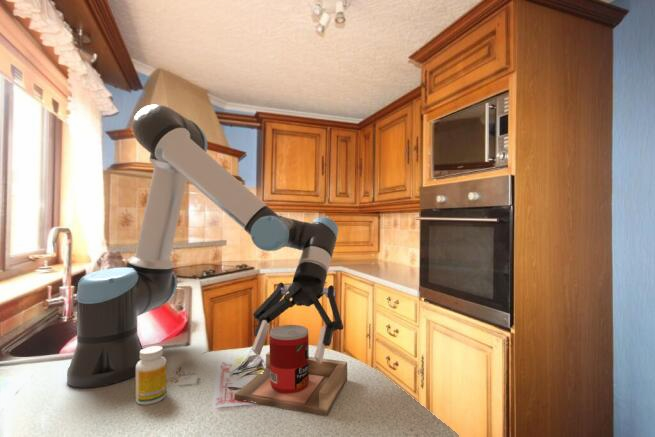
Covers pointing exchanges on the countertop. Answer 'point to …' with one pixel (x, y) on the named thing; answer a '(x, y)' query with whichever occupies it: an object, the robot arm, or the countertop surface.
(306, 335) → the canned food
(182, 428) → the countertop surface
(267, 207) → the robot arm
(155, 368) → the supplement bottle
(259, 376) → the wooden tray
